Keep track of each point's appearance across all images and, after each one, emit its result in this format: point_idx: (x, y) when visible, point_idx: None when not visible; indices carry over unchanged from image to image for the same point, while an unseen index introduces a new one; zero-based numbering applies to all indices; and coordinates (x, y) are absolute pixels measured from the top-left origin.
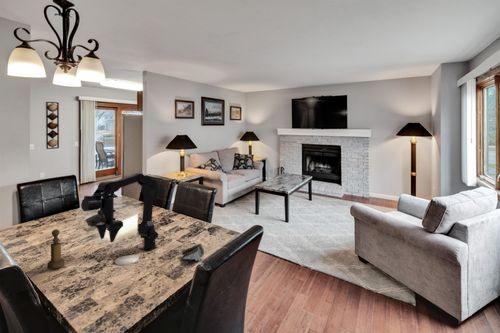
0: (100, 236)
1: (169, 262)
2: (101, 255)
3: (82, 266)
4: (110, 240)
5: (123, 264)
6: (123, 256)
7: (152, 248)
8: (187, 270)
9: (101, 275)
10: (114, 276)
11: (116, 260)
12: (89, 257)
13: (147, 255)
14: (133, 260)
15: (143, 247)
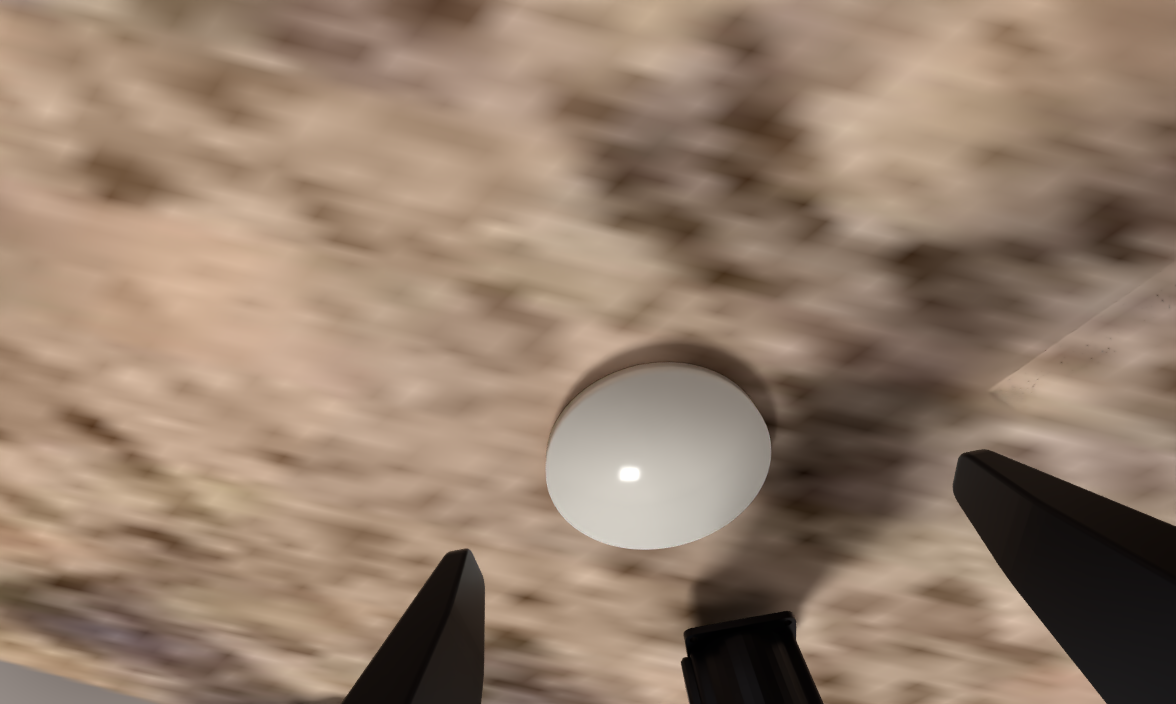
0: (1038, 491)
1: (361, 650)
2: (1060, 319)
3: (925, 46)
4: (440, 583)
5: (564, 412)
6: (761, 465)
7: (682, 669)
8: (118, 678)
9: (421, 165)
10: (300, 267)
11: (703, 391)
12: (1148, 199)
13: (647, 594)
14: (567, 499)
15: (792, 632)
